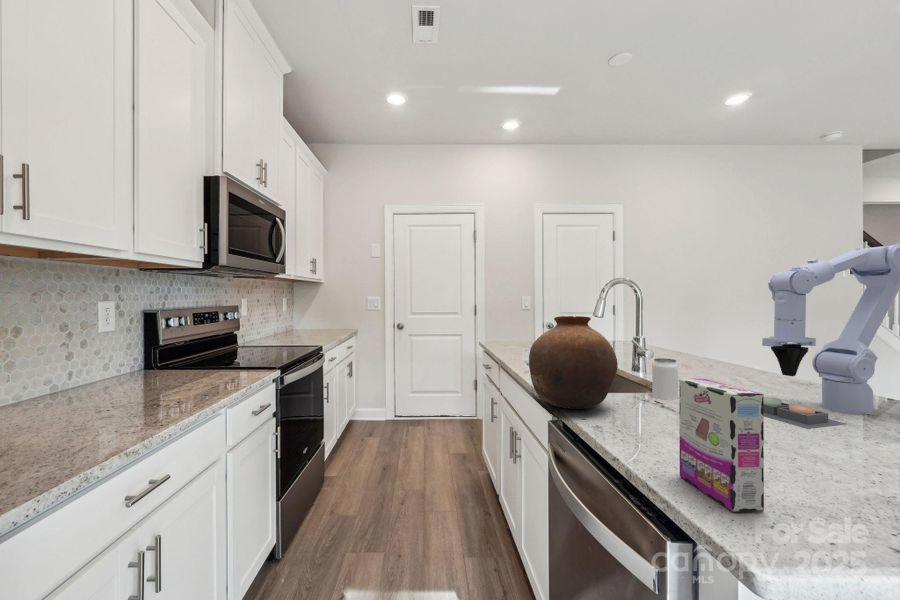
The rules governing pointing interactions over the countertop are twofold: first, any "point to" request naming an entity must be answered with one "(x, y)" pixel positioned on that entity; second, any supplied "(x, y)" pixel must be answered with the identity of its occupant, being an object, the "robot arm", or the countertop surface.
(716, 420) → the candy bar box
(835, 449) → the countertop surface
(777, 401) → the sage button
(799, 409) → the terracotta button
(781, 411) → the panel
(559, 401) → the pottery
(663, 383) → the can
